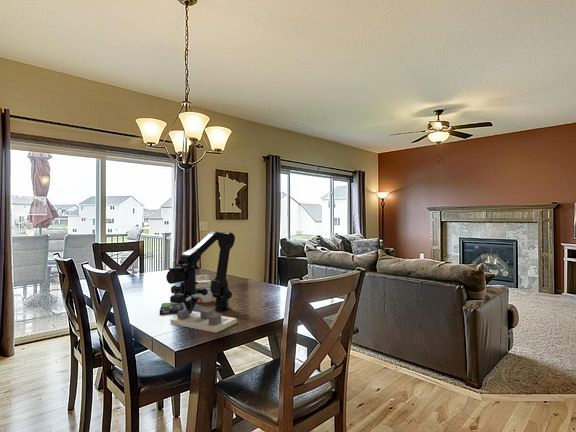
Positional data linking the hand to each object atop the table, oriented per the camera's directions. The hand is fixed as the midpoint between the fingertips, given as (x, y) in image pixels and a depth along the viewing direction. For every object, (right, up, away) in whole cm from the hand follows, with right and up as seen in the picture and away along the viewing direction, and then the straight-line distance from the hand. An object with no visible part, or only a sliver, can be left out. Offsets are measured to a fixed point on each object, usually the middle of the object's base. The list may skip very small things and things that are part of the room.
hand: (189, 313), depth 159 cm
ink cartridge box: (-2, -3, +33) cm, 33 cm away
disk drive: (-14, -4, +17) cm, 22 cm away
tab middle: (+8, -1, -3) cm, 9 cm away
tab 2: (+14, -1, -12) cm, 18 cm away
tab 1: (-2, -1, -4) cm, 4 cm away
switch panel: (+8, -3, -5) cm, 10 cm away
